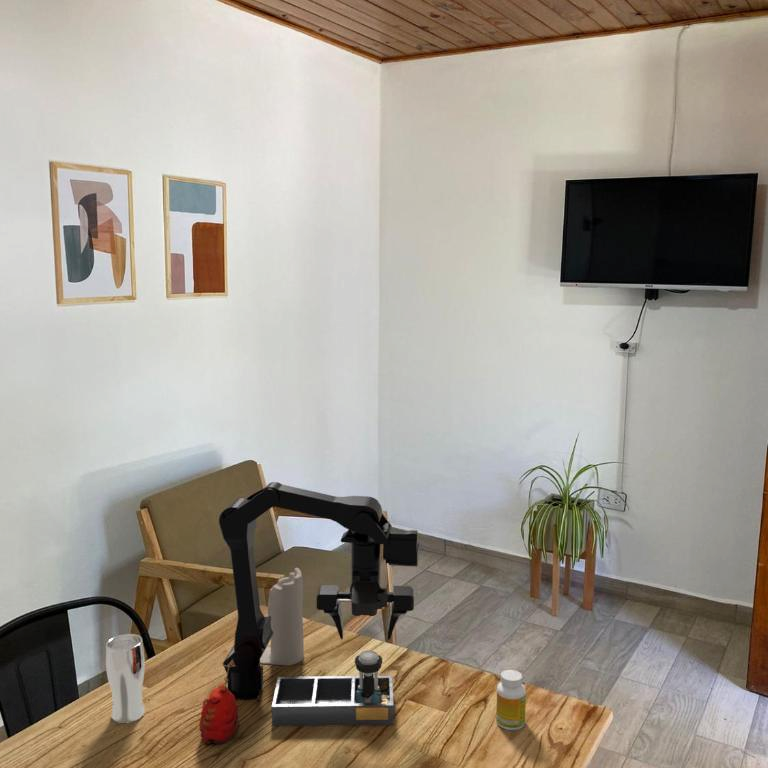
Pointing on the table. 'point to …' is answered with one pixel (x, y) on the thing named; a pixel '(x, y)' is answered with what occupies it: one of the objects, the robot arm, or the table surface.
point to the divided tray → (328, 702)
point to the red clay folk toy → (219, 715)
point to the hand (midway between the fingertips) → (365, 638)
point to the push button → (369, 678)
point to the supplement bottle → (511, 701)
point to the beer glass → (126, 676)
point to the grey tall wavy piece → (286, 621)
